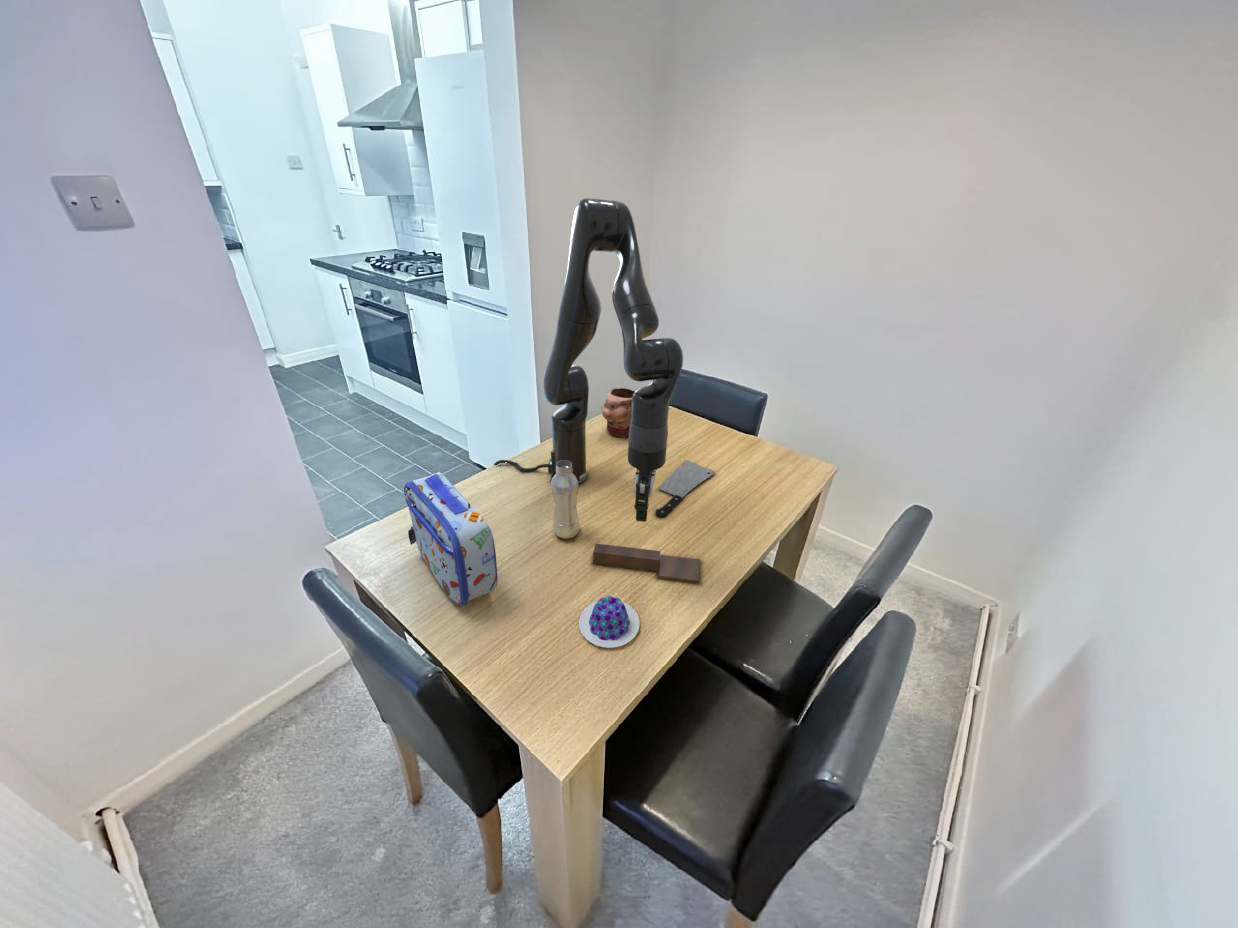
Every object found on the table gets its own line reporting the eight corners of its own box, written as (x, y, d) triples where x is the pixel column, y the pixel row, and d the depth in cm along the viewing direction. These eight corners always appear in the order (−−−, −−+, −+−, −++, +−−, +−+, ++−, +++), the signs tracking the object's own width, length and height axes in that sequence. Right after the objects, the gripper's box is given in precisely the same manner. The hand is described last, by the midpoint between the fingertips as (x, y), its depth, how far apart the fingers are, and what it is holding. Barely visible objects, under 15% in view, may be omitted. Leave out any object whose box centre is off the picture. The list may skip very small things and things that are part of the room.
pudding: (612, 592, 105) (613, 574, 102) (652, 627, 97) (653, 609, 94) (566, 621, 98) (566, 602, 95) (605, 661, 90) (605, 642, 87)
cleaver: (632, 505, 131) (664, 519, 126) (633, 503, 131) (664, 517, 126) (686, 461, 152) (715, 472, 147) (686, 460, 152) (716, 471, 147)
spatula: (591, 569, 110) (591, 557, 108) (597, 549, 116) (597, 537, 114) (698, 583, 108) (700, 571, 106) (698, 561, 114) (700, 549, 112)
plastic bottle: (559, 545, 117) (556, 474, 107) (549, 529, 122) (545, 460, 112) (584, 537, 120) (583, 468, 109) (573, 522, 125) (571, 454, 114)
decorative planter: (627, 414, 179) (628, 379, 172) (654, 424, 173) (657, 387, 166) (592, 434, 166) (592, 396, 158) (621, 445, 159) (622, 406, 152)
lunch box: (407, 549, 114) (386, 470, 103) (449, 531, 120) (434, 454, 109) (461, 621, 97) (444, 535, 85) (507, 596, 103) (497, 512, 91)
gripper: (633, 423, 102) (630, 487, 110) (623, 457, 90) (621, 527, 98) (669, 426, 101) (663, 491, 109) (664, 461, 89) (658, 531, 97)
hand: (643, 508), depth 104 cm, fingers open, 8 cm apart
